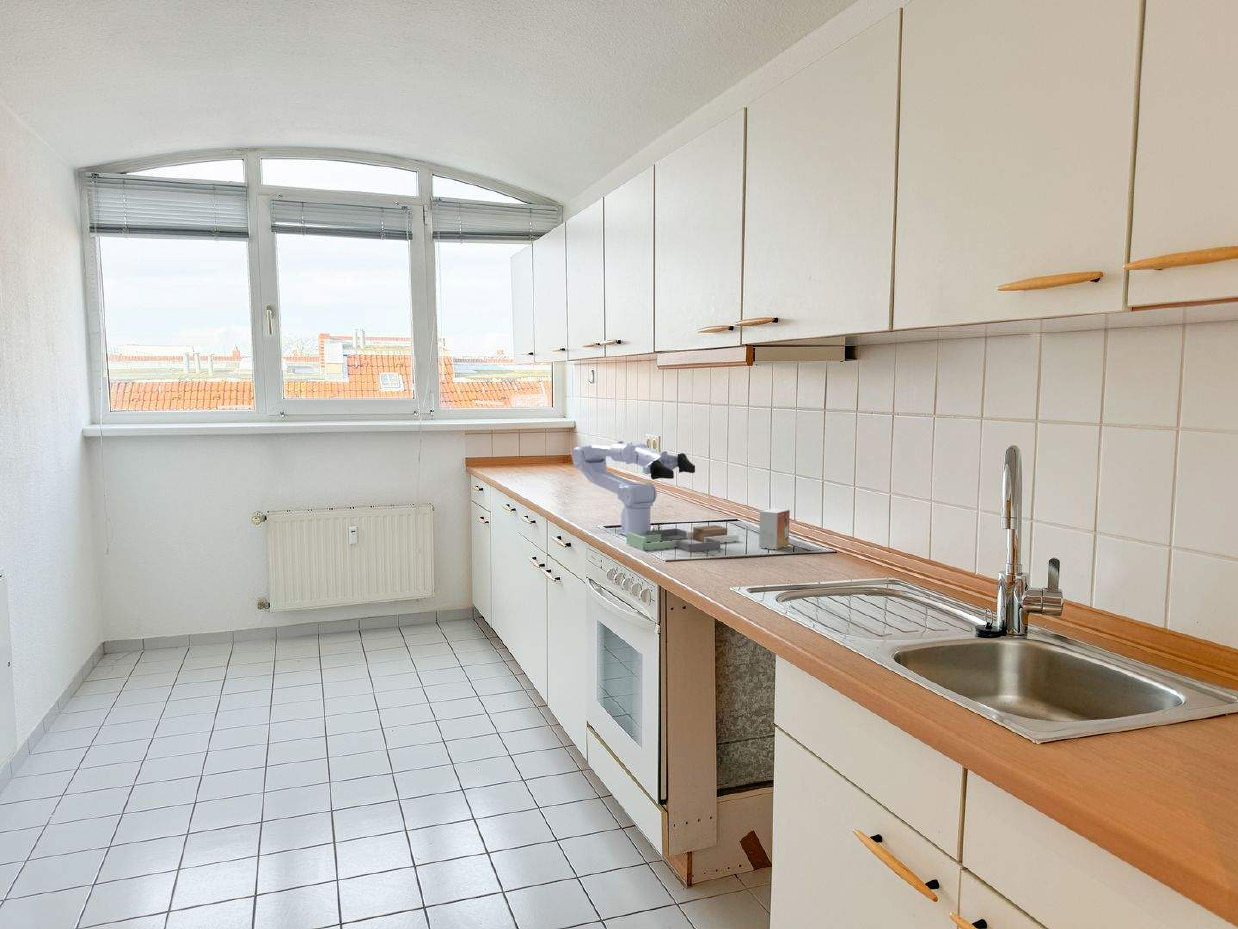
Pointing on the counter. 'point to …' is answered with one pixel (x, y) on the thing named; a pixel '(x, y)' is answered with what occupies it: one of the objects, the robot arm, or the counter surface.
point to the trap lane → (676, 540)
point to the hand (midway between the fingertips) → (683, 472)
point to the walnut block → (708, 532)
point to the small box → (774, 528)
